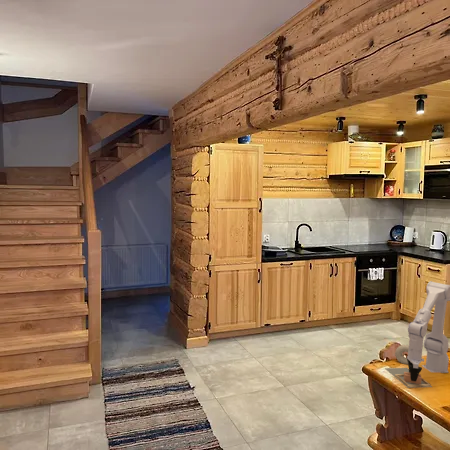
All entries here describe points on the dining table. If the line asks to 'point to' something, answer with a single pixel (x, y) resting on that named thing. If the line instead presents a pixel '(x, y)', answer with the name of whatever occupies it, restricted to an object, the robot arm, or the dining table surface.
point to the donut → (399, 353)
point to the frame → (414, 384)
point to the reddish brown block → (408, 378)
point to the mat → (401, 371)
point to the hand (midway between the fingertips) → (412, 377)
